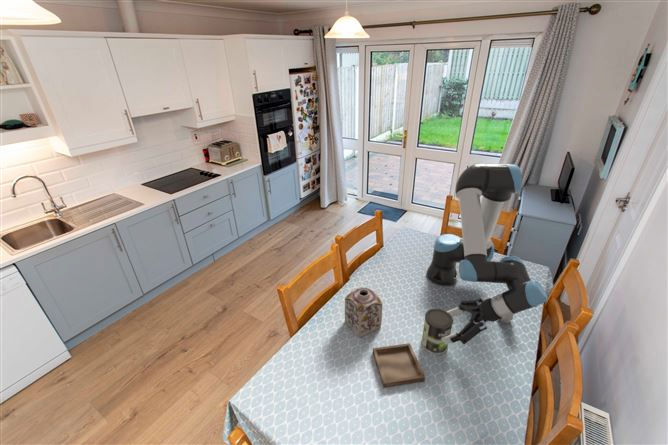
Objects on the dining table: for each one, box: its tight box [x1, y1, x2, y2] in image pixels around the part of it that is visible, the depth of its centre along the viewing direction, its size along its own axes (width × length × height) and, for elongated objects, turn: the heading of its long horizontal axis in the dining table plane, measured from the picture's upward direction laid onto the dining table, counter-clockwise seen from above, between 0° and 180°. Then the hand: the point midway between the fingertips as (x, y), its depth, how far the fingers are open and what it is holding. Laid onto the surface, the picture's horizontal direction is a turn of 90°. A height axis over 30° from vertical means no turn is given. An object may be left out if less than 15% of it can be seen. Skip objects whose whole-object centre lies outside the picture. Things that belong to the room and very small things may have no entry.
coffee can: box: [421, 308, 454, 355], centre depth 121 cm, size 10×10×14 cm
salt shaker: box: [499, 315, 514, 324], centre depth 132 cm, size 6×6×13 cm
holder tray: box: [372, 342, 426, 389], centre depth 115 cm, size 15×15×2 cm
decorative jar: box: [344, 286, 383, 338], centre depth 130 cm, size 12×12×18 cm
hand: (444, 327), depth 119 cm, fingers open, 13 cm apart
